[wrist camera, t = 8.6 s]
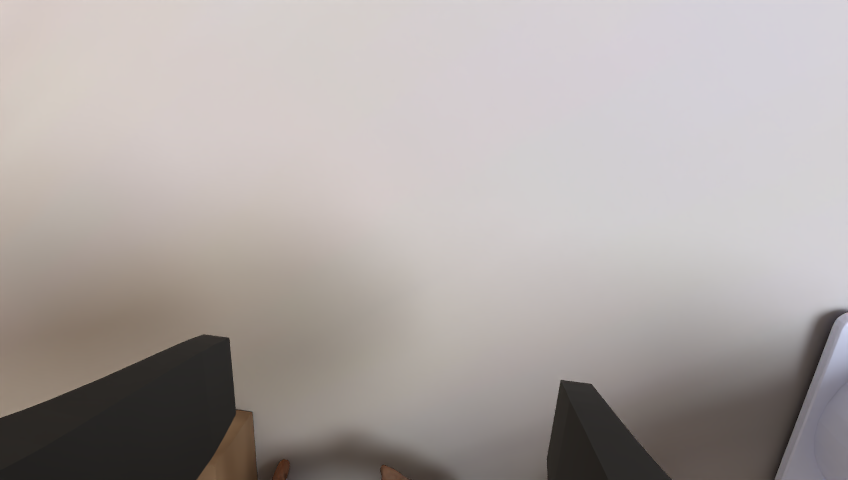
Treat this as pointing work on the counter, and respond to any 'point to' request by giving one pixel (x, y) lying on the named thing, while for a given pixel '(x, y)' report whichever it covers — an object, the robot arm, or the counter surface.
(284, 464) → the pottery mug
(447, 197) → the counter surface
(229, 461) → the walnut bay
